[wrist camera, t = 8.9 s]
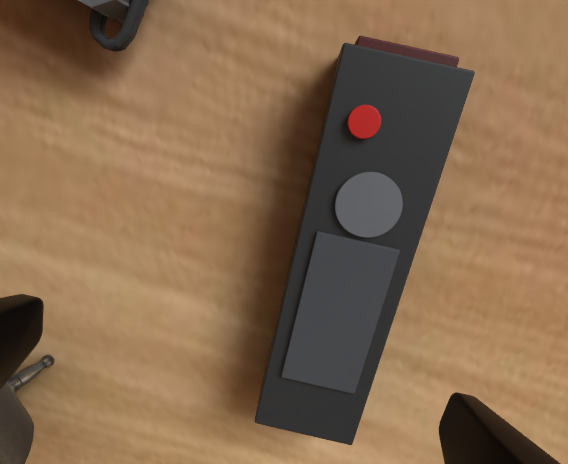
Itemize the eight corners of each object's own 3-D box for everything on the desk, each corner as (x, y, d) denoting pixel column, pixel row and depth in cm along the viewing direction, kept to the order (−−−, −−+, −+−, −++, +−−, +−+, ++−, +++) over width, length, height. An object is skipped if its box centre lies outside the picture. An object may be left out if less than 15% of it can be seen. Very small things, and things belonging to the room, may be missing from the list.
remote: (347, 405, 21) (352, 451, 18) (261, 385, 21) (253, 428, 18) (453, 68, 16) (484, 56, 13) (341, 43, 16) (347, 26, 13)
